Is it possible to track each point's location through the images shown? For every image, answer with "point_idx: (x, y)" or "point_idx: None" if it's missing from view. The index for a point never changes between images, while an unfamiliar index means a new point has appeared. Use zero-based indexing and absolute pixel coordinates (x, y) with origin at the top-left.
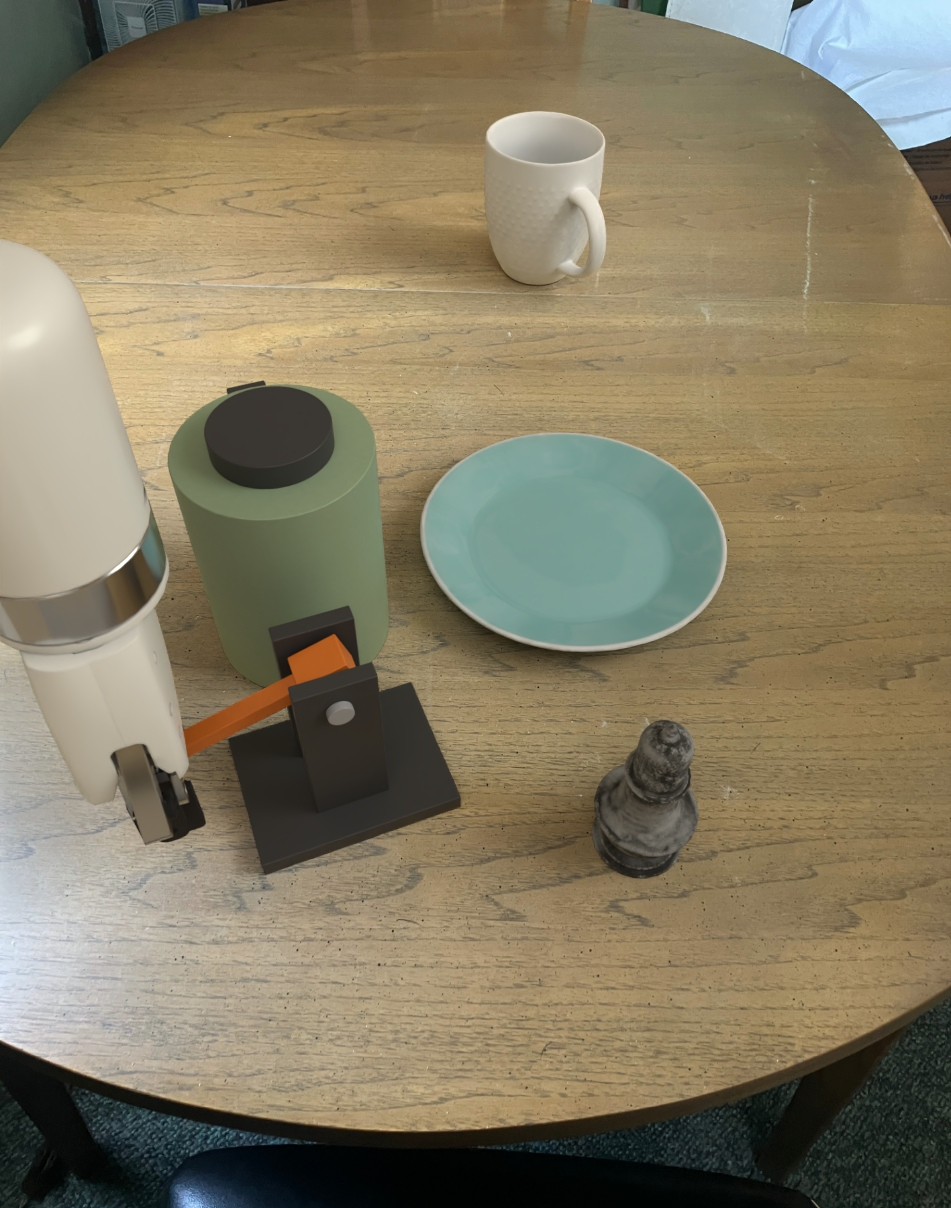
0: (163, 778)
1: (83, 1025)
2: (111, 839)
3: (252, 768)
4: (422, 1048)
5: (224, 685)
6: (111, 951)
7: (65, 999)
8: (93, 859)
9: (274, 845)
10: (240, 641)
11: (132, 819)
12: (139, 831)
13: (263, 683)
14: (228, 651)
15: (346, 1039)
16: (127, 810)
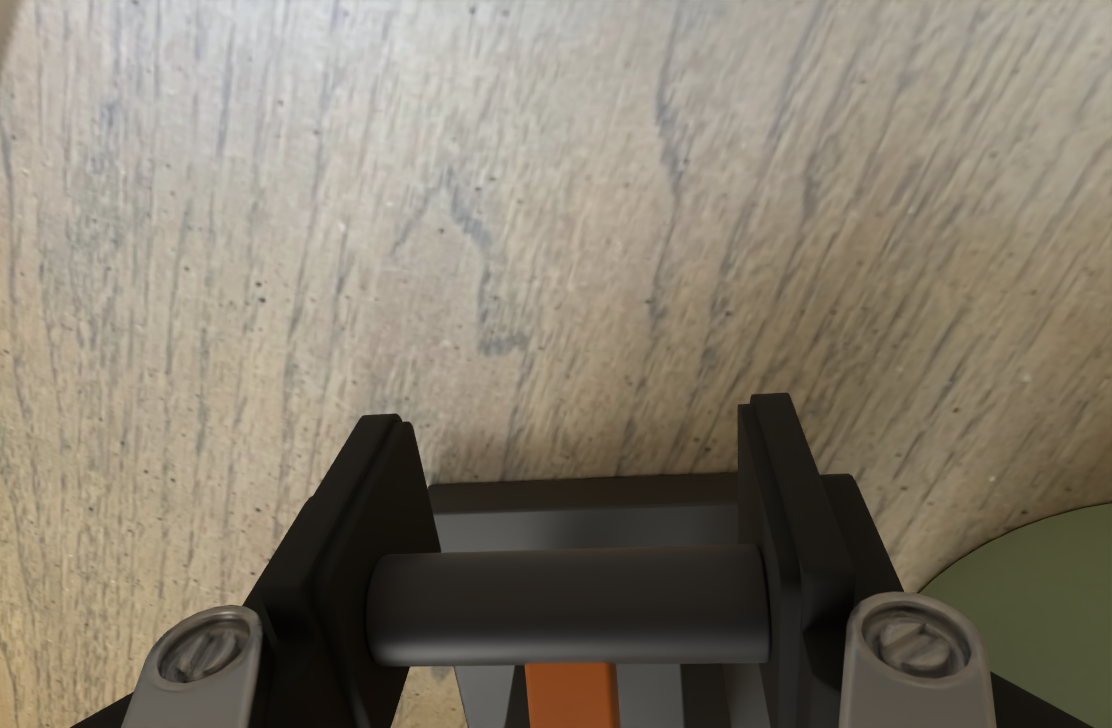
0: (429, 662)
1: (107, 53)
2: (621, 148)
3: (686, 538)
4: (78, 641)
5: (1013, 481)
6: (291, 133)
7: (173, 4)
8: (570, 92)
9: (463, 544)
10: (1080, 693)
11: (161, 638)
12: (331, 467)
13: (956, 579)
14: (1106, 560)
15: (89, 549)
16: (264, 577)
